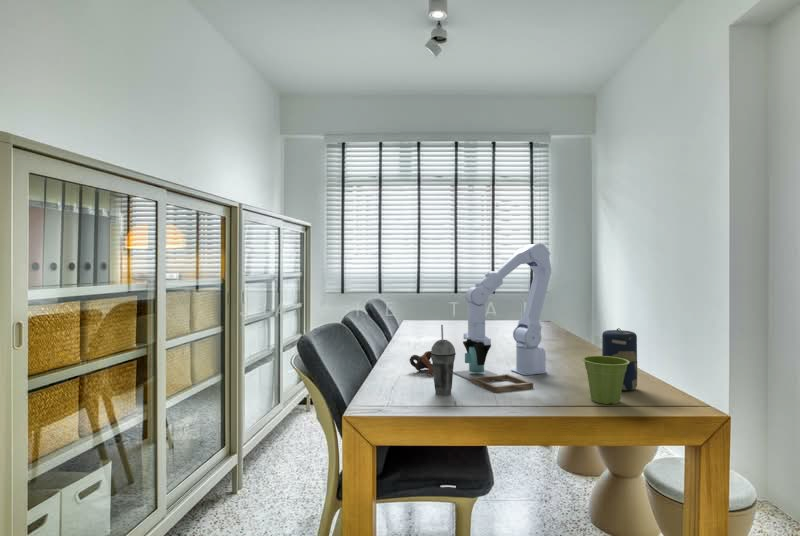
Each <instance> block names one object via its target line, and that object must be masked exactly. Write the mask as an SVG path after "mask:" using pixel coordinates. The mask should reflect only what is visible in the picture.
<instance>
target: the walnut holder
mask: <svg viewBox="0 0 800 536" xmlns="http://www.w3.org/2000/svg"><path fill="white" fill-rule="evenodd" d="M497 381H509V382H510V383H511V382H512V384H503V385H501V384H500V385H494V384H492V383H490V382H497ZM471 383H472V384H475V385H477V386H478V387H481V388H484V389H486V390H488V391H491V392H493V393H502V392H503V393H504V392H510V391H511V392H512V391H519V390H528V389H534V382H531V381H529V380H526V379H522V378H521V377H517V376H514V375H512V374H509V373H505V374H504V373H503V374H498V375H493V376H484V377H474V378H472V381H471Z"/></svg>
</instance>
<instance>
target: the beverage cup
mask: <svg viewBox="0 0 800 536" xmlns="http://www.w3.org/2000/svg"><path fill="white" fill-rule="evenodd" d="M440 327H441V328H440V329H441V330H440V332H441V333H440V334H441V335H440V337H441V339H438V340H436V341H435V342H434V344H433V345H432V347H431V350H430V351H431V358H430V360H431V361H432V363H431V364H433V374H432V375H433V383H434V384H433V385H434V392H435V395H437V396H440V397H441V396H442V397H444V396H445V397H447V396H451V395H452V389H453V376H454V374H453V372H454V366H455V361H456V360H455V359H456V355H457V353H456V348H455V346H454V345H453V343H452V342H450V341H449V340H448V339H444V325H443V324H441V325H440Z"/></svg>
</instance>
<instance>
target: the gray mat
mask: <svg viewBox="0 0 800 536" xmlns="http://www.w3.org/2000/svg"><path fill="white" fill-rule="evenodd" d="M453 375H456V376H458V377H461V378H462V379H465V380H467V381H469V382H470V381H471V382H472V378H474V377H484V376H493V375H499V374H497V373H494V372H492V371H489V370H487V369H484V372H481V373H474V372H470V371H469V369H468V370H461V371H460V370H458V371H453Z"/></svg>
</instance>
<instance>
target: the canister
mask: <svg viewBox="0 0 800 536" xmlns="http://www.w3.org/2000/svg"><path fill="white" fill-rule="evenodd" d="M601 339H602V340H601V341H602V342H601V343H602V344H601V350H602V351H601V353H602V354H601V356H610V357H617V358H622V359H626V360H628V361H629V362H630V363H629V364H628V365H627V369H626V372H625V376H624V381H623V386H622V391H632V390H635V389H636V388H637V387H638V336H637V333H635V331H634V332H633V331H630V330H622V329H621V328H619V327H618V328H616V329H609V330H605V331H603V332H602V336H601Z"/></svg>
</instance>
